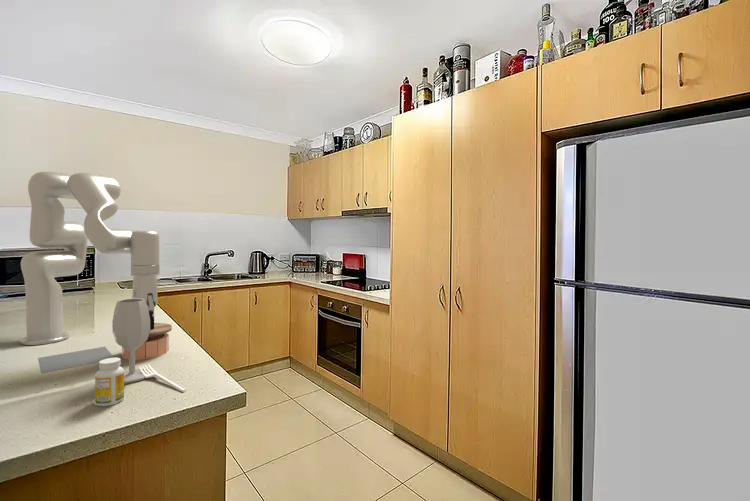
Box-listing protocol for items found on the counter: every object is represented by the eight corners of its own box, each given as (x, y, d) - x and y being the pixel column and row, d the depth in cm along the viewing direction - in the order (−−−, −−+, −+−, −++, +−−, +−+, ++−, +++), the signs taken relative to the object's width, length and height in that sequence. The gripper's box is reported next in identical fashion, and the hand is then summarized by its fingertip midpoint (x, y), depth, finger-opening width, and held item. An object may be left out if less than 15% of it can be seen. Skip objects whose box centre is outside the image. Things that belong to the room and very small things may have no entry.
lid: (114, 331, 111) (113, 312, 111) (163, 323, 121) (163, 306, 121) (124, 341, 101) (124, 320, 101) (177, 332, 112) (177, 313, 111)
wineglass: (158, 375, 97) (158, 299, 96) (125, 387, 89) (124, 304, 88) (138, 369, 101) (137, 296, 100) (104, 380, 93) (103, 301, 92)
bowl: (118, 355, 112) (118, 336, 111) (161, 347, 120) (161, 329, 120) (128, 365, 103) (127, 345, 103) (173, 356, 112) (173, 337, 112)
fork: (177, 395, 86) (178, 388, 86) (137, 373, 96) (137, 366, 96) (190, 391, 88) (191, 383, 88) (149, 369, 99) (150, 363, 99)
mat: (38, 361, 106) (38, 357, 105) (105, 349, 117) (105, 346, 117) (42, 376, 94) (41, 373, 94) (115, 362, 106) (115, 358, 106)
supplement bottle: (98, 409, 78) (97, 366, 77) (92, 401, 81) (91, 360, 81) (127, 401, 82) (127, 360, 81) (120, 394, 85) (120, 354, 85)
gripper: (124, 268, 114) (125, 325, 114) (138, 273, 102) (138, 336, 103) (151, 267, 119) (152, 321, 120) (167, 271, 108) (167, 331, 108)
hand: (146, 327), depth 111 cm, fingers closed on lid, 4 cm apart
